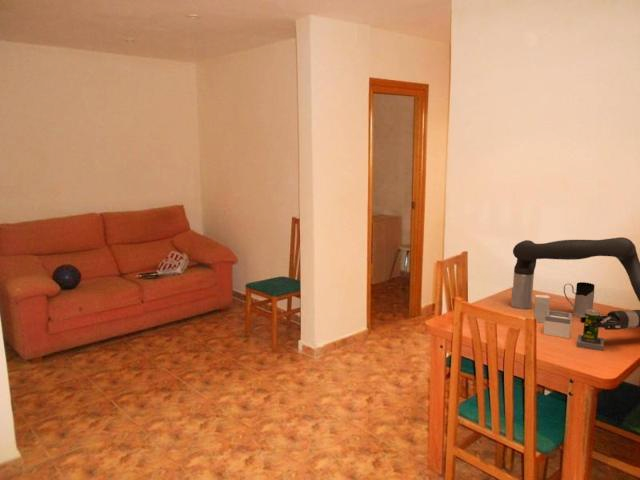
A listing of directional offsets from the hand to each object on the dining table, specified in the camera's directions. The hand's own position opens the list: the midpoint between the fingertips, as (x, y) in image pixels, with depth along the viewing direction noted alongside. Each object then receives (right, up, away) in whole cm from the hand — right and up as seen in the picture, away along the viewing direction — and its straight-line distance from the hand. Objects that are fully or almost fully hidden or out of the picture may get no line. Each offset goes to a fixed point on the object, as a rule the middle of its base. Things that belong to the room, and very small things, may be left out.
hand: (586, 322), depth 210 cm
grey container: (+16, -2, +41) cm, 44 cm away
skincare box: (-6, -4, +30) cm, 31 cm away
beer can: (+2, -7, +2) cm, 8 cm away
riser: (-4, -7, +16) cm, 18 cm away
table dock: (+3, -9, +2) cm, 10 cm away
